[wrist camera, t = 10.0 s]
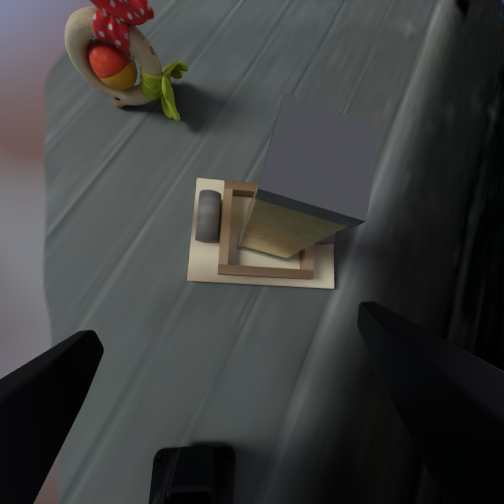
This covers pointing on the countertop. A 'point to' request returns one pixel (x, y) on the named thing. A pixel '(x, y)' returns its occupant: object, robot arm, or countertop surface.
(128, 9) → the bird rattle
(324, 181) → the tall brass pillar
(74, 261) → the countertop surface
